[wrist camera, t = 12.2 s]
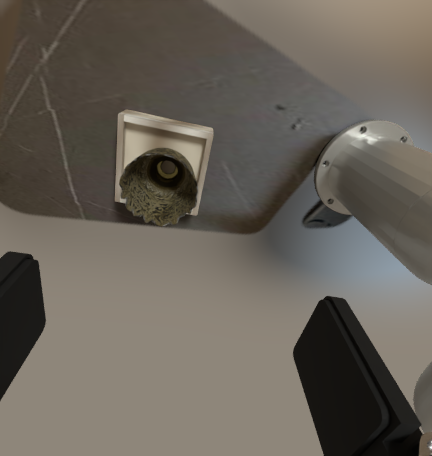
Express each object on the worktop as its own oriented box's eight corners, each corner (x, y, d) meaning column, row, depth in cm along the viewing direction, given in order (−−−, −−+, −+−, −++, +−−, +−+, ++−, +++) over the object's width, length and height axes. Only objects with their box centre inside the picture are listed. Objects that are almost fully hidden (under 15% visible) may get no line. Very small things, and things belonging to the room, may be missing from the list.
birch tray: (212, 128, 34) (213, 134, 30) (197, 203, 39) (197, 215, 35) (126, 109, 32) (118, 113, 29) (122, 189, 37) (114, 201, 34)
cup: (161, 205, 36) (151, 238, 29) (123, 157, 32) (101, 181, 26) (210, 176, 34) (212, 204, 27) (176, 122, 31) (167, 137, 24)
